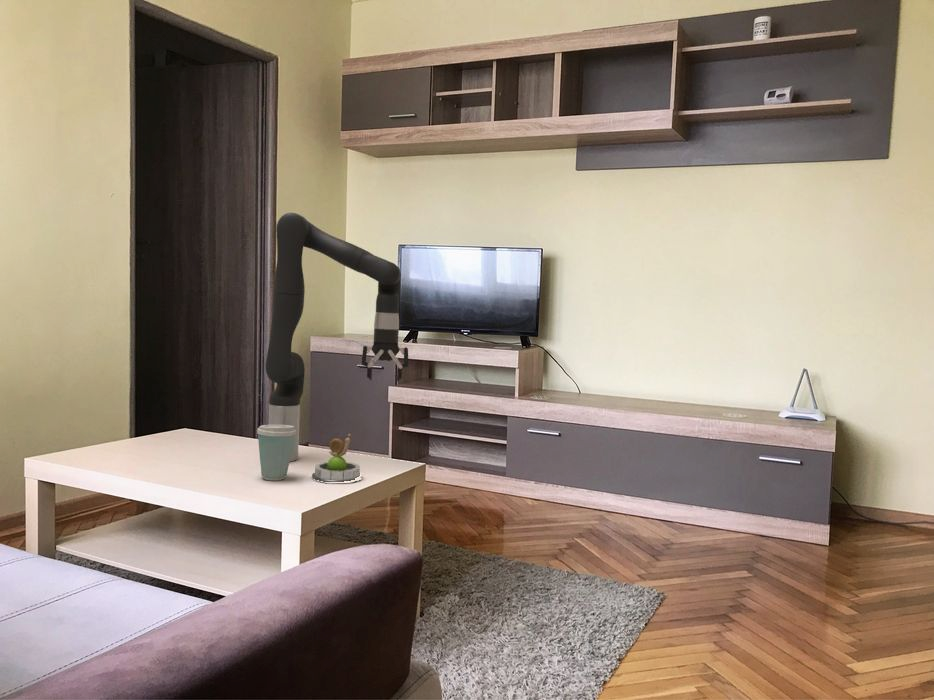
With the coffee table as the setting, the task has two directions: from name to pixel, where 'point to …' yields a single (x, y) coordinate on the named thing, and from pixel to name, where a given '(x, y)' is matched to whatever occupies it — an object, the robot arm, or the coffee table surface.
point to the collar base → (336, 473)
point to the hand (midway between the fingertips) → (384, 380)
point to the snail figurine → (338, 454)
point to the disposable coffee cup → (275, 450)
